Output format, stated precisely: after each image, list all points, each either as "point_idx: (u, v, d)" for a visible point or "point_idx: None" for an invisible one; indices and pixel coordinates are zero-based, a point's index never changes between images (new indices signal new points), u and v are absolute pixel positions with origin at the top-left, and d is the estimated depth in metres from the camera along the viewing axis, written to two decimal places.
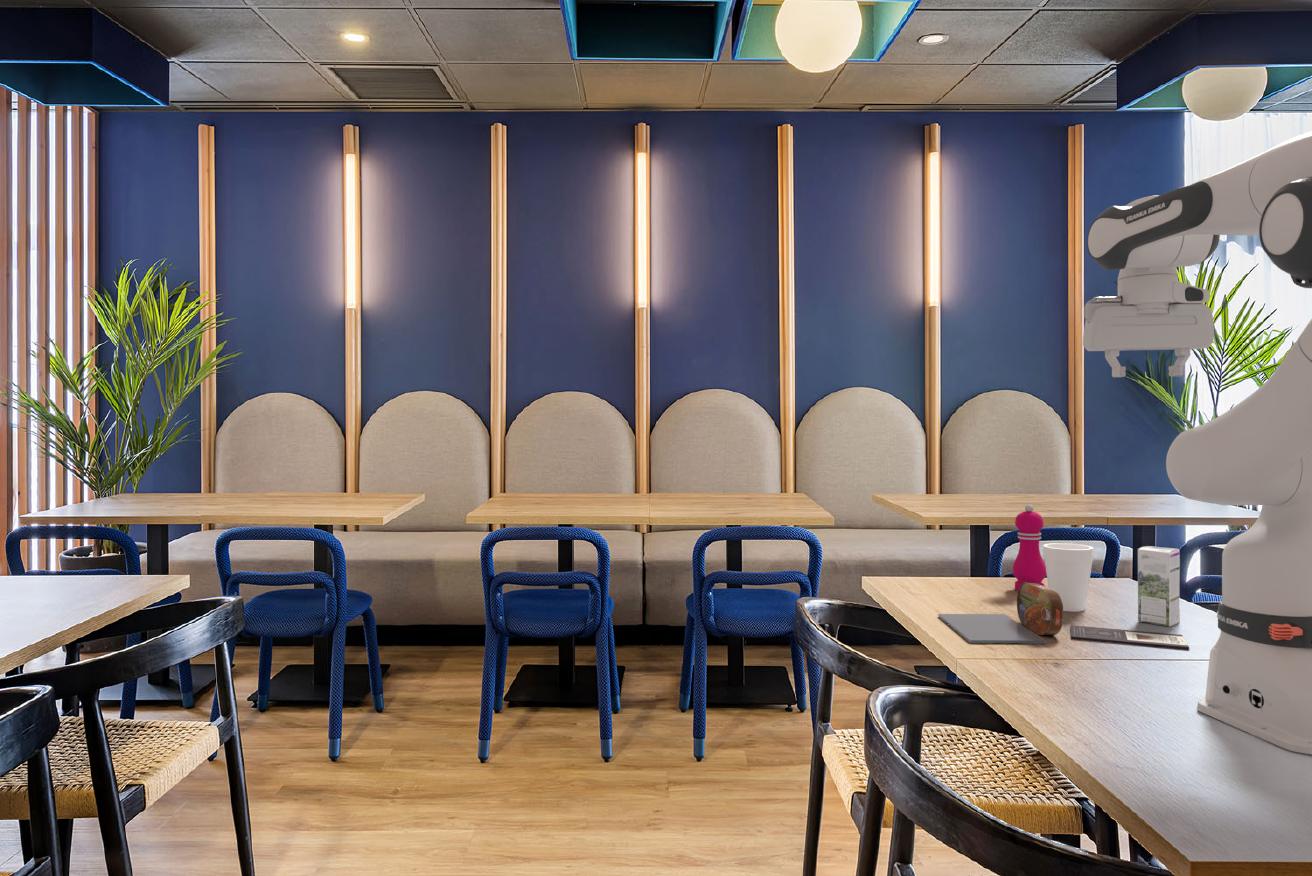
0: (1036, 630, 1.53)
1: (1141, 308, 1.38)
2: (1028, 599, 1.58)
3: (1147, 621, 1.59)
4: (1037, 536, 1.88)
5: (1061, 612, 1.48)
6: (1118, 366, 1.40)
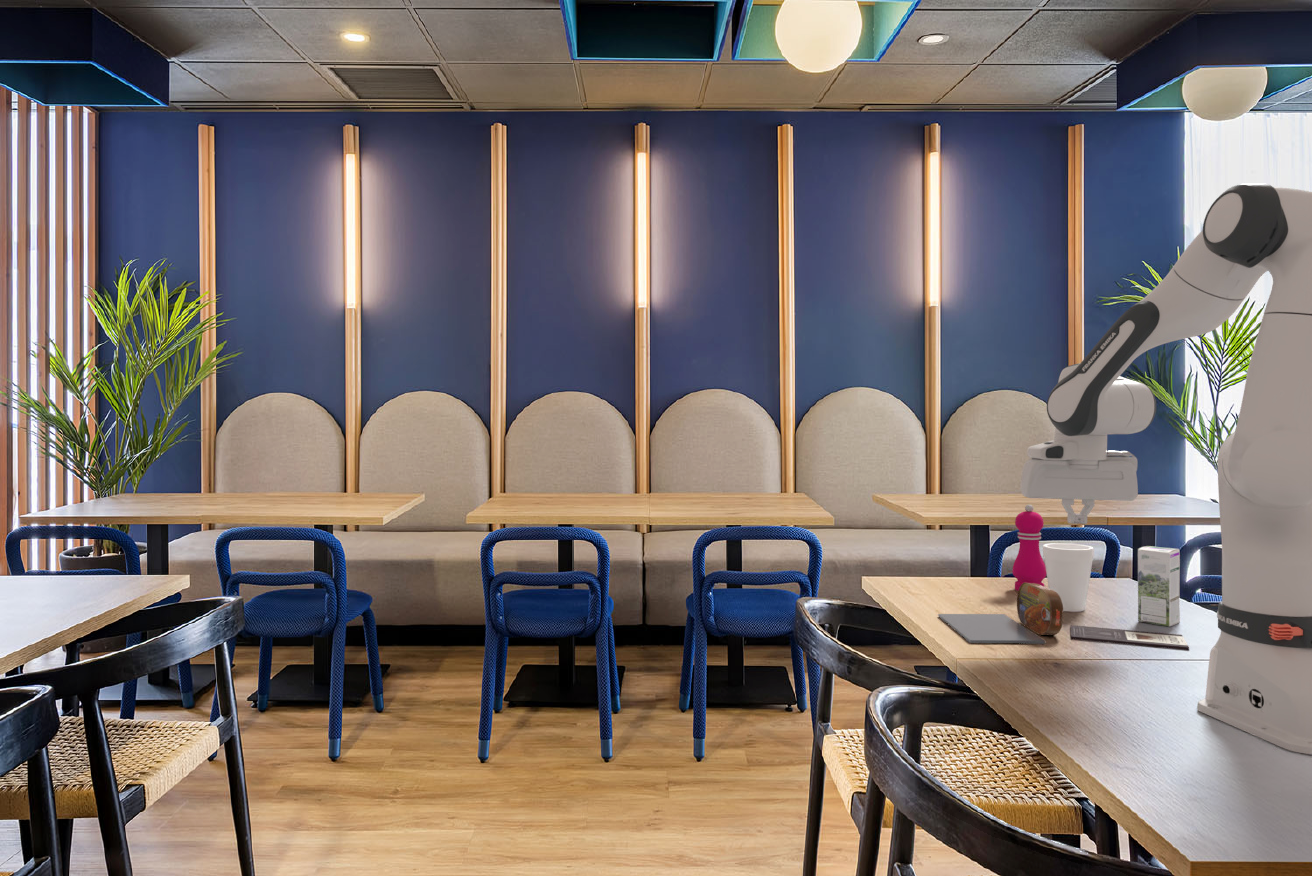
0: (1036, 630, 1.53)
1: None
2: (1028, 599, 1.58)
3: (1147, 621, 1.59)
4: (1037, 536, 1.88)
5: (1061, 612, 1.48)
6: None
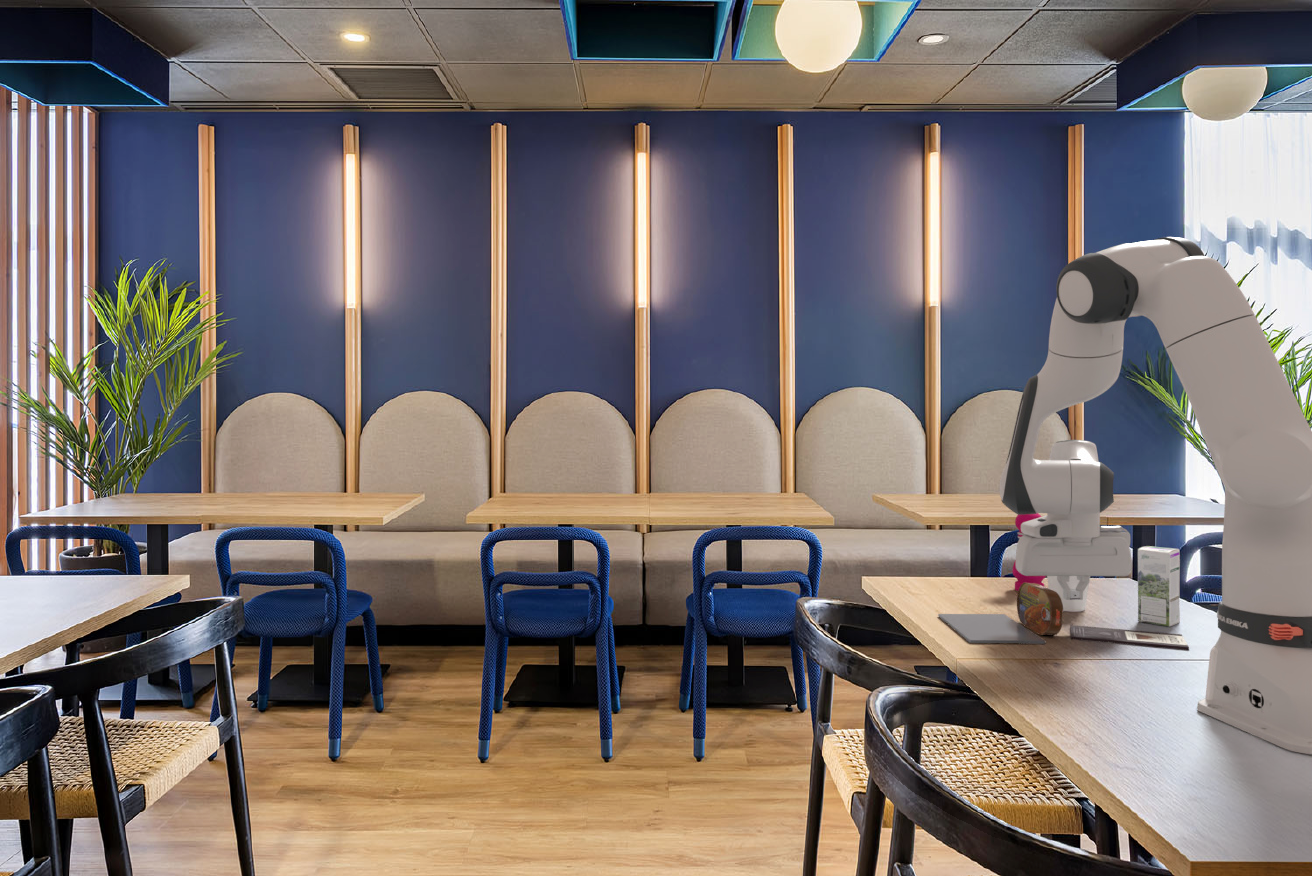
0: (1036, 630, 1.53)
1: None
2: (1028, 599, 1.58)
3: (1147, 621, 1.59)
4: None
5: (1061, 612, 1.48)
6: None
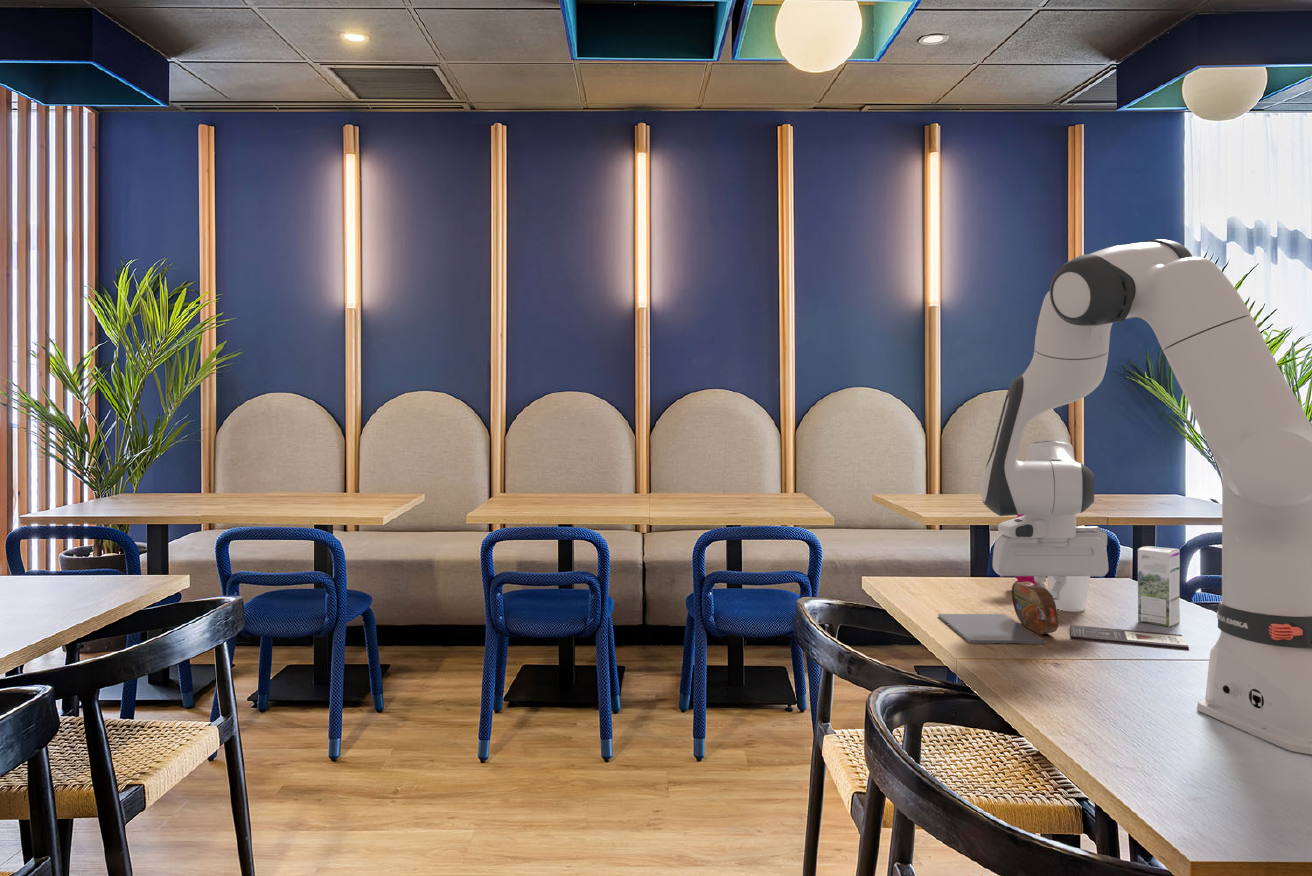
0: (1035, 630, 1.53)
1: None
2: (1022, 599, 1.58)
3: (1147, 621, 1.59)
4: None
5: (1054, 609, 1.48)
6: None
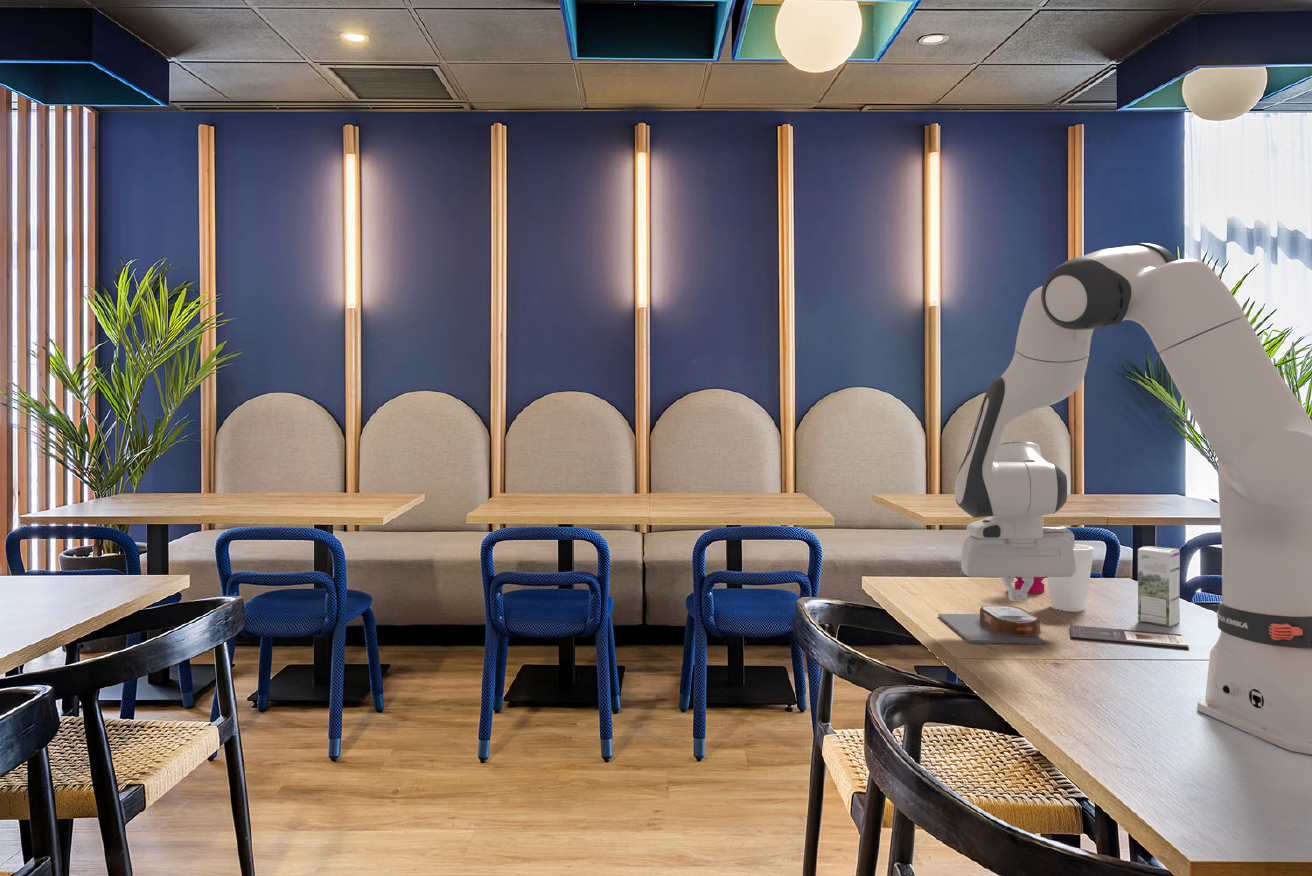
0: None
1: None
2: None
3: (1147, 621, 1.59)
4: None
5: (1018, 625, 1.48)
6: None
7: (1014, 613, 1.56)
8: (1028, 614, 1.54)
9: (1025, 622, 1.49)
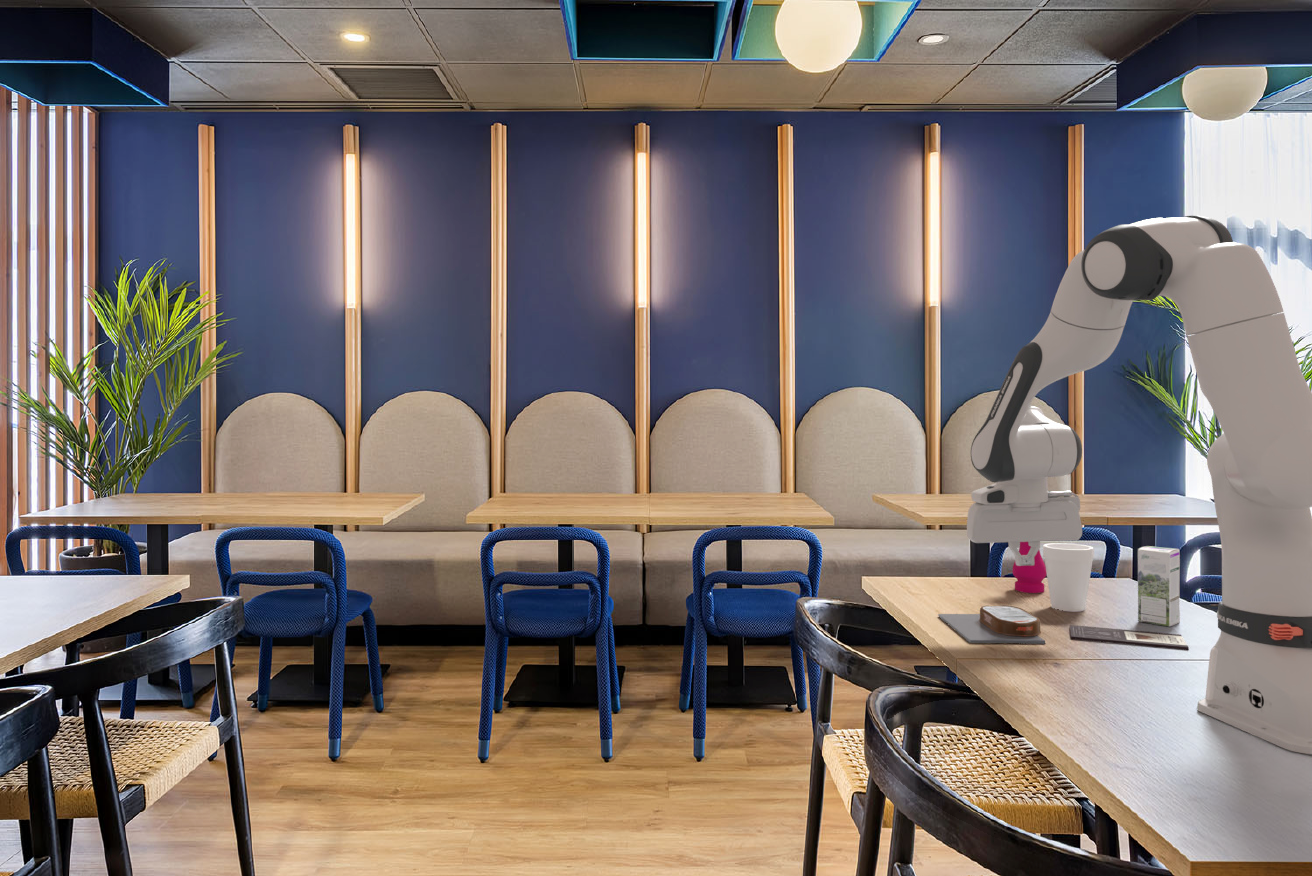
0: None
1: None
2: None
3: (1147, 621, 1.59)
4: None
5: (1018, 625, 1.48)
6: None
7: (1014, 613, 1.56)
8: (1028, 614, 1.54)
9: (1025, 622, 1.49)
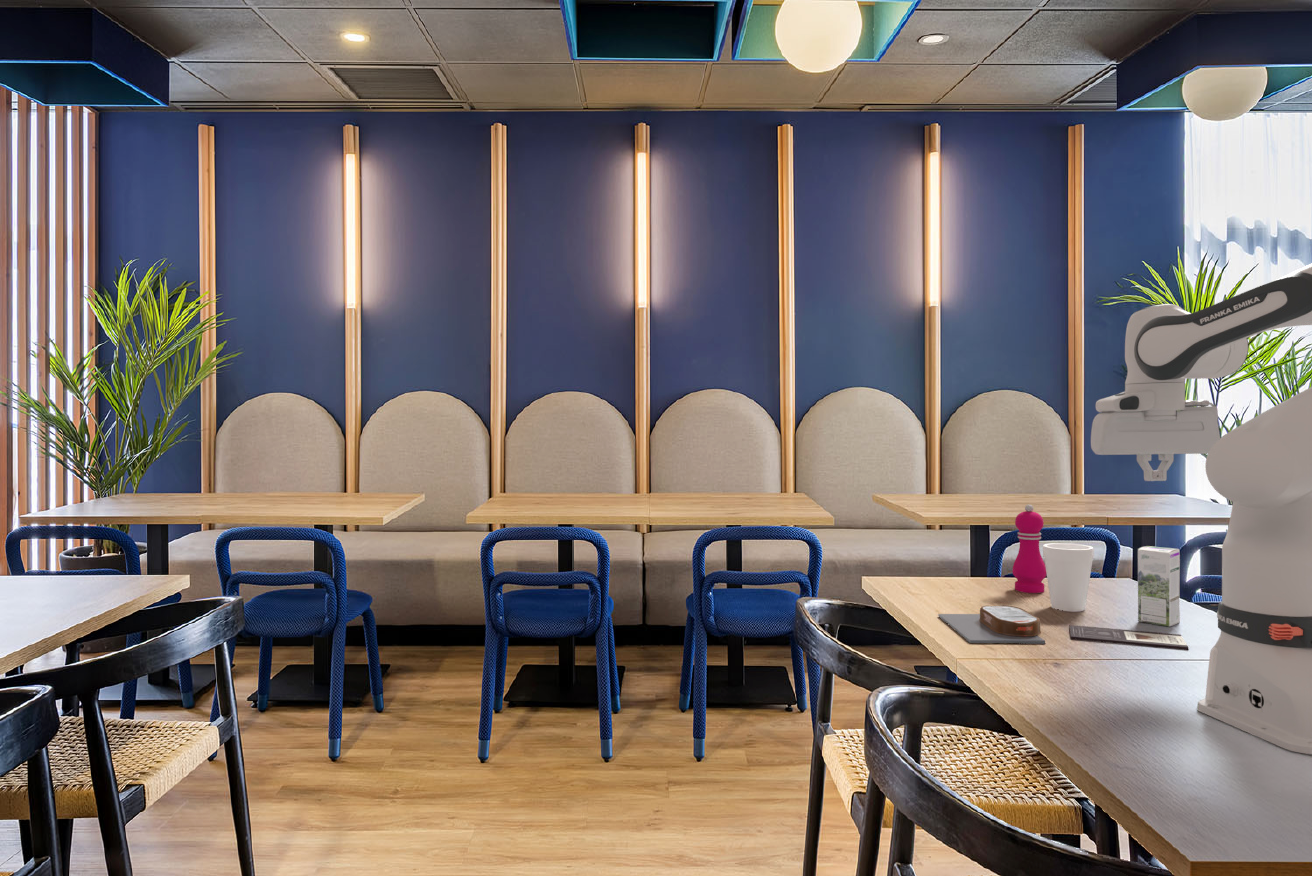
0: None
1: None
2: None
3: (1147, 621, 1.59)
4: (1037, 536, 1.88)
5: (1018, 625, 1.48)
6: None
7: (1014, 613, 1.56)
8: (1028, 614, 1.54)
9: (1025, 622, 1.49)
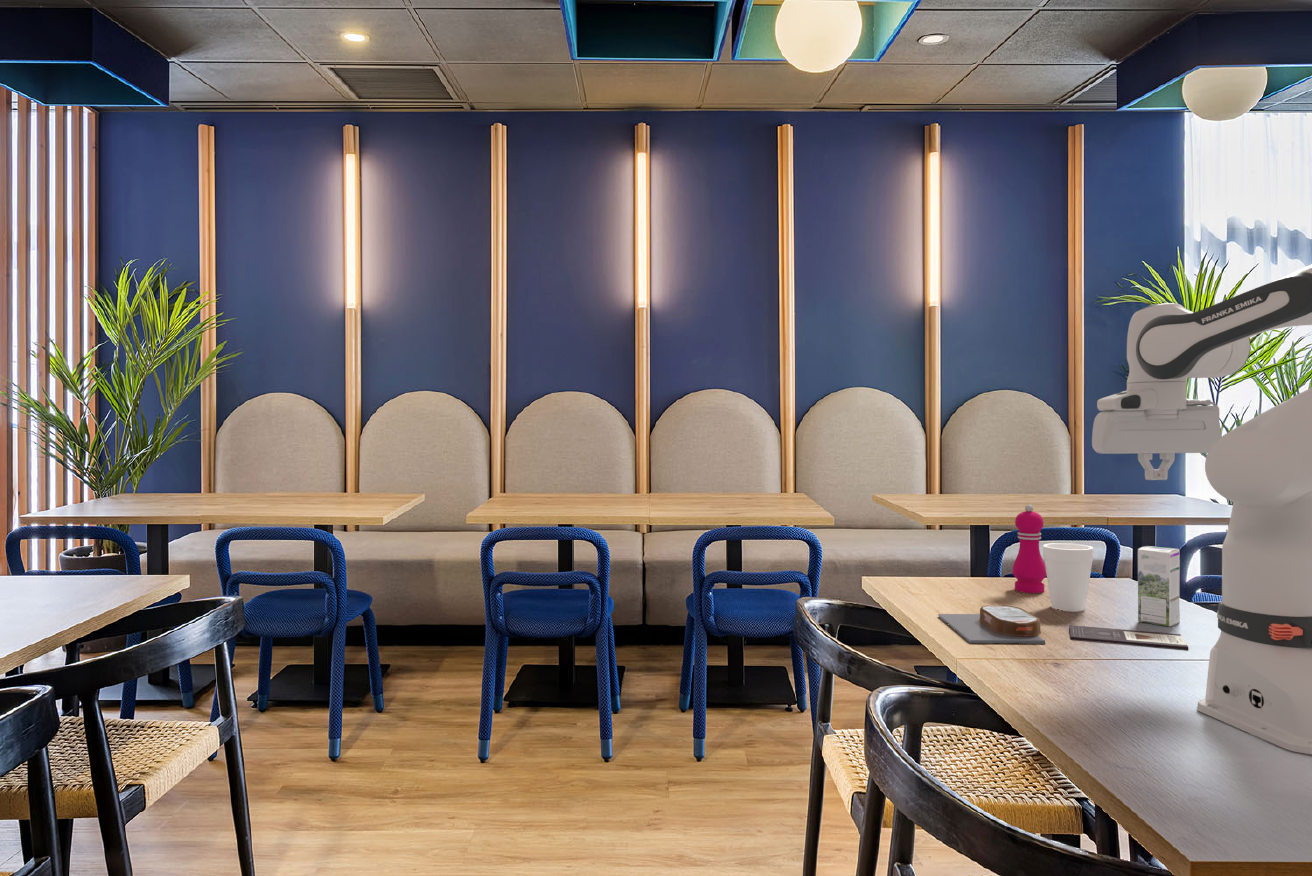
0: None
1: None
2: None
3: (1147, 621, 1.59)
4: (1037, 536, 1.88)
5: (1018, 625, 1.48)
6: None
7: (1014, 613, 1.56)
8: (1028, 614, 1.54)
9: (1025, 622, 1.49)
